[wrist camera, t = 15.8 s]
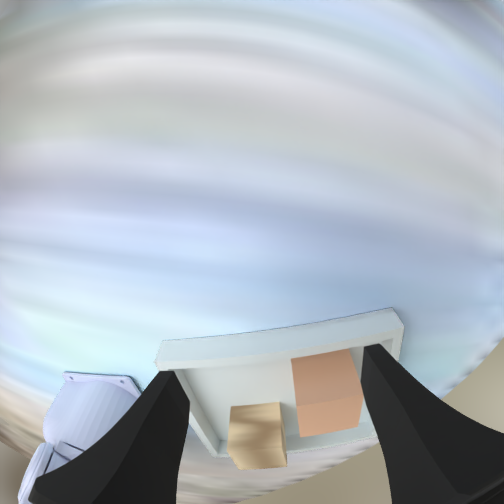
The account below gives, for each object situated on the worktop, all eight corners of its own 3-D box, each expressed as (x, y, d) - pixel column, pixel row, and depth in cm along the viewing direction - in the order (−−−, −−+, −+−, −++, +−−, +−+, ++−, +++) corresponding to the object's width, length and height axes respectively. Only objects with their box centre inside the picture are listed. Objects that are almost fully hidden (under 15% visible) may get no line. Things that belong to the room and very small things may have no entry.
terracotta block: (294, 390, 23) (299, 437, 18) (290, 355, 21) (296, 406, 16) (345, 381, 22) (357, 426, 18) (347, 345, 21) (364, 393, 16)
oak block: (241, 429, 26) (238, 469, 21) (230, 406, 24) (226, 450, 19) (284, 425, 25) (287, 466, 21) (279, 401, 23) (281, 447, 19)
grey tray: (215, 439, 28) (212, 457, 25) (162, 340, 21) (153, 361, 19) (372, 419, 26) (377, 436, 24) (392, 307, 20) (404, 326, 17)
